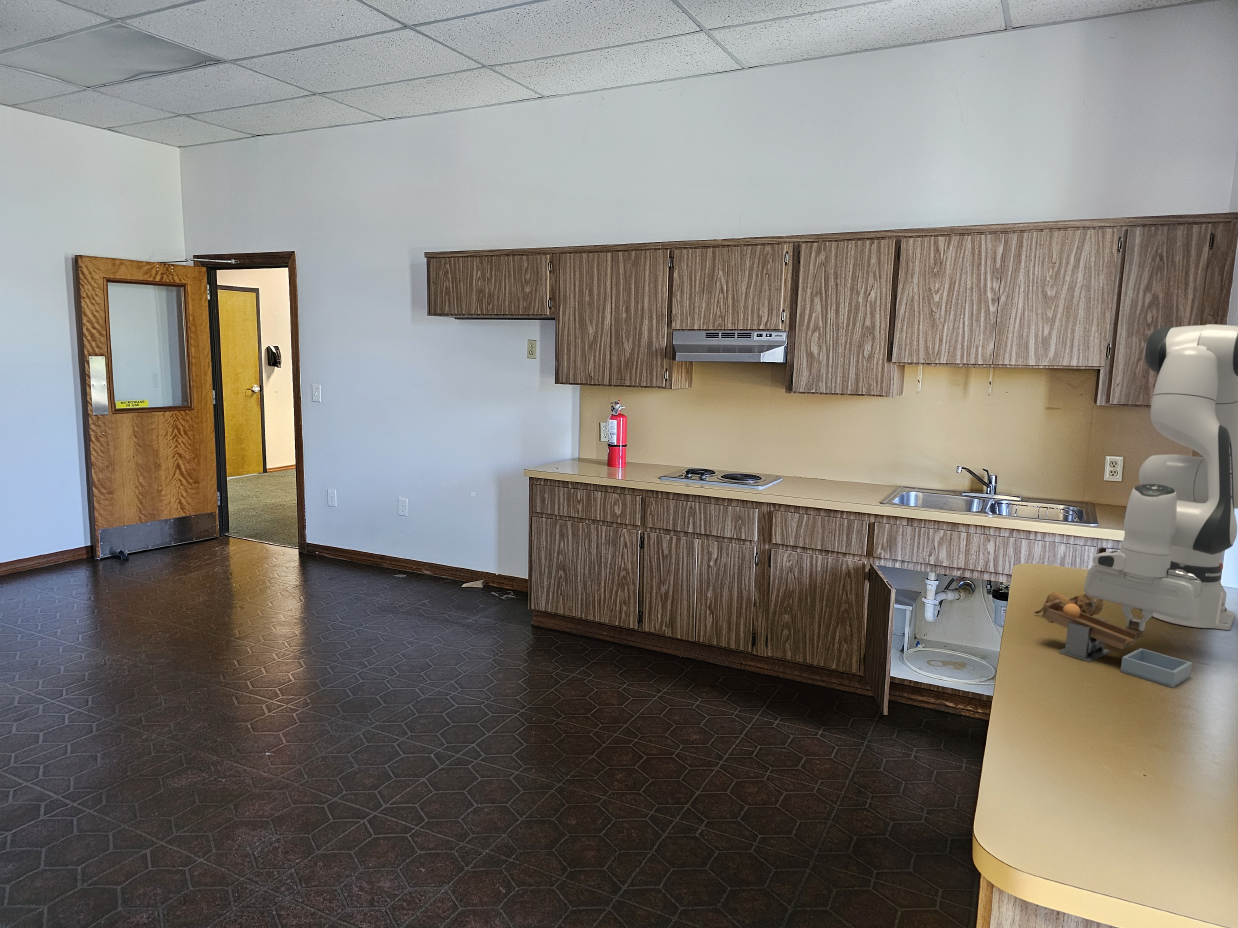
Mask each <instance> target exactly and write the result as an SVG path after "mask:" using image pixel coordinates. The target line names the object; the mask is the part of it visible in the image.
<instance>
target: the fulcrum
mask: <svg viewBox="0 0 1238 928" xmlns="http://www.w3.org/2000/svg"><path fill="white" fill-rule="evenodd" d="M1094 617H1095V616H1094ZM1095 618H1098V617H1097V616H1096V617H1095ZM1098 619H1101V620H1103V621H1106V622H1108V623H1109V621H1108V620H1106V619H1102V618H1098ZM1066 631H1067V633H1066V639H1065V647H1064V648H1061V649H1059V650H1058V654H1062V655H1065V656H1068V657H1071V658H1074V659H1077V658H1078V660H1081V661H1084V662H1088V663H1091V662H1093V661H1096V660H1097V659H1100V658H1102V657H1104V656H1106V655H1109V654H1110V650H1109V649H1106V648H1105V645H1106V643H1105V642H1103V641H1100V640H1098V639H1095V638H1093V637H1090V634H1091V627H1088V626H1084V625H1080V624H1077V623H1073V622H1069V623H1068V627H1067V630H1066Z"/></svg>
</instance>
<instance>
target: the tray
mask: <svg viewBox="0 0 1238 928" xmlns="http://www.w3.org/2000/svg"><path fill="white" fill-rule="evenodd" d="M1192 669H1193V662H1191V661H1188V660H1184V659H1182V658H1181V659H1180V658H1178V657H1173V656H1170V655H1166V654H1163V653H1159V652H1156V651H1153V650H1148V649H1146V648H1142V647H1140V648H1138V649H1136V650H1134V651H1132V652H1130V653H1128V654H1126V655H1123V656H1122V658H1121V665H1120V671H1119V672H1121V673H1124V674H1127V675H1130V676H1133V677H1137V678H1140V679H1142V680H1146V681H1148V682H1153V683H1156V684H1159V685H1162V686H1166V687H1169V688H1172V689H1173V688H1176V686H1178V685H1180V684H1181V683H1183V682H1185V681H1188V679H1190V678H1191V675H1192Z"/></svg>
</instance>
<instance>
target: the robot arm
mask: <svg viewBox="0 0 1238 928" xmlns="http://www.w3.org/2000/svg"><path fill="white" fill-rule="evenodd" d="M1143 353H1144V360H1145V361H1144V362H1145V364H1146V366H1147V367H1148V369H1150V371H1152V372H1155V373H1156V374H1157V378H1156V381H1155V386H1154V388H1153V389H1154V390H1153V393H1152V398H1151V406H1150V421H1151V424H1152V426H1153V427H1154V428H1155V430H1156V431H1157V432H1158V433H1159V434H1161V435H1162V436H1163V437H1165V438H1166V439H1169V440H1170V441H1173V442H1174V443H1178V444H1179V445H1181V446H1184V447H1187V448H1189V449H1191V450H1193V451H1195V452H1196V453H1199V454H1200V455H1201V456H1202V457H1201V456H1195V455H1194V456H1193V455H1185V454H1177V453H1176V454H1175V453H1172V454H1154V455H1151V456H1150V457H1148V458H1147V459H1146V460H1144V461H1143V463H1142V464H1141V466H1140V468H1139V471H1138V481H1139V484H1138V485H1136V486H1134V487H1133V488H1132V490H1131V492H1130V494H1129V495H1130V496H1129V498H1128V502H1127V506H1126V507H1125V508H1126V509H1125V510H1124V511H1125V512H1124V517H1123V518H1124V519H1123V531H1124V536H1123V540H1121V541H1122V542H1121V543H1120V548H1119V549H1120V550H1113V551H1105V552H1104V551H1103V552H1100V553H1097V554H1095V555H1093V557H1092V564H1093V565H1091V566H1090V567H1089V569H1088V571H1087V574H1086V576H1085V581H1084V587H1083V591H1084V594H1086V595H1087V596H1089V597H1093V598H1097V599H1101V600H1102V601H1105V602H1109V603H1115V604H1118V605H1121V611H1122V613H1123V614H1124V617H1125V619H1126V621H1125V622H1126V623H1125V627H1126V628H1127V627H1128V628H1132V629H1136V630H1139V631H1145V627H1146V622H1148V620H1150V619H1151V618H1152V617H1153V618H1156V619H1159V620H1162V621H1164V622H1167V623H1171V624H1175V625H1181V626H1186V627H1190V628H1191V627H1193V628H1202V629H1215V630H1216V629H1218V630H1225V631H1227V630H1228V631H1230V630H1231V628H1232V626H1233V624H1234V621H1235V619H1236V612H1234V611H1232V610H1229V609H1227V607H1226V602H1227V592H1226V590H1225V588H1224V587H1223V584H1222V583H1221V580H1222V574H1223V569H1224V563H1222V562H1221V557H1222V552H1225V551H1227V550H1229V549H1230V548H1232V547H1233V546H1234V543H1235V541H1236V539H1237V535H1238V523H1237V519H1236V514H1235V510H1236V509H1237V510H1238V325H1232V324H1231V325H1229V324H1215V323H1214V324H1213V323H1212V324H1209V323H1207V324H1204V325H1200V324H1199V325H1185V326H1173V325H1171V326H1170V325H1169V326H1163V327H1160V328H1159V327H1158V328H1155V330H1154V331H1153V332H1151V333H1150V334H1149V335H1148V337H1147V341H1146V343H1145V345H1144V351H1143ZM1134 609H1138V610H1141V615H1142V616H1143V617H1142V618H1141V619H1137V618H1134V616H1133V614H1132V611H1133V610H1134Z"/></svg>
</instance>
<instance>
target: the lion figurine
mask: <svg viewBox="0 0 1238 928" xmlns="http://www.w3.org/2000/svg"><path fill="white" fill-rule="evenodd" d="M1055 600H1061V601H1062V602H1061V605H1064V606H1065V605H1067V604H1075V605H1077V606H1078V607H1079V609H1080V612H1082V613H1085V614H1088V615H1090V616H1096V615H1098V614H1099V615H1100V613H1101V612H1102V610H1103V607H1104V605H1105V603H1104V601H1103V600H1101V599H1097V598H1093V597H1089V596H1087V595H1086V593H1084V594H1081V595H1075V596H1073V597H1071V598H1070V597H1067V596H1065V595H1063V594H1062V593H1060V592H1057V591H1056V592H1055V591H1054V592H1051V593H1049V594H1048V596H1047V597H1046V599H1045V602H1044V604H1043V605H1042V608H1040V609H1038V610H1036V611H1034V614H1036V615H1037V614H1041V613H1043V609H1044V605H1045V604H1046V603H1049V602H1052V601H1055ZM1047 621H1048V622H1049V623H1054V622H1053V621H1050V620H1048V619H1047Z"/></svg>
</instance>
